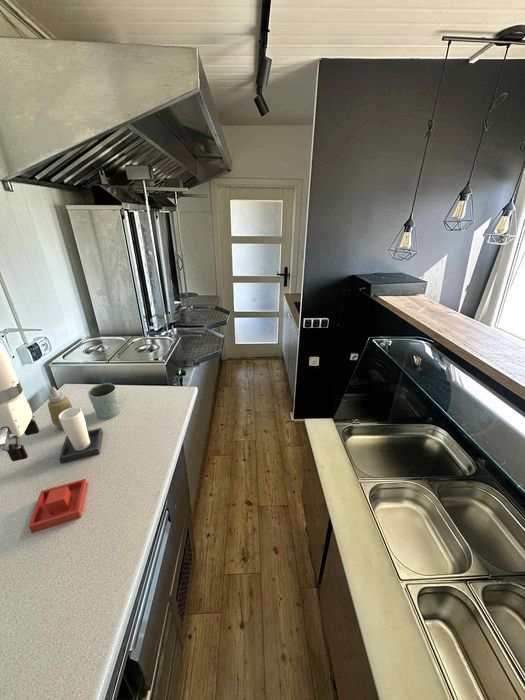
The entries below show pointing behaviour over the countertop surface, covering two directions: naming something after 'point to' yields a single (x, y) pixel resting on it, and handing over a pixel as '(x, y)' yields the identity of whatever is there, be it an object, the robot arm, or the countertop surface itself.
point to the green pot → (104, 400)
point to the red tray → (45, 520)
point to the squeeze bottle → (57, 406)
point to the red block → (58, 500)
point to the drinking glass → (75, 428)
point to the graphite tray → (71, 454)
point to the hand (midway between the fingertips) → (26, 445)
